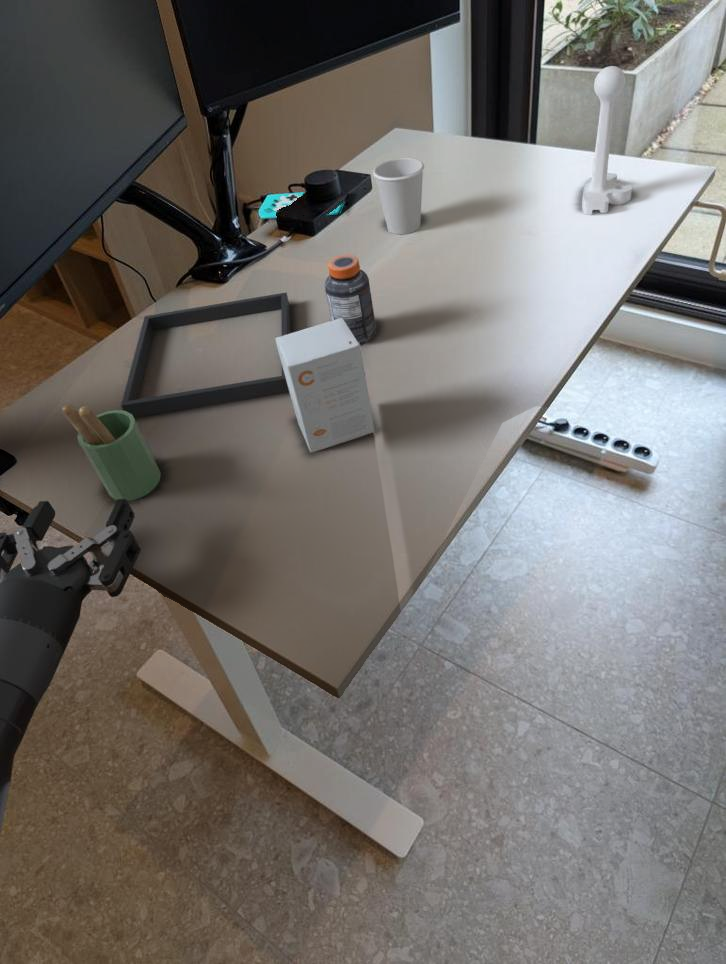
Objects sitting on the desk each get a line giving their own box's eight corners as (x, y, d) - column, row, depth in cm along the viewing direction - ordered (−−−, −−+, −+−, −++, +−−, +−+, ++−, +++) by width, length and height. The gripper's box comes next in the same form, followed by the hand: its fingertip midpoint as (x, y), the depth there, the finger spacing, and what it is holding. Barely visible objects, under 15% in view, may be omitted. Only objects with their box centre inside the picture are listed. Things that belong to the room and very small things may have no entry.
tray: (292, 396, 88) (287, 378, 86) (129, 423, 88) (120, 405, 86) (290, 309, 103) (286, 292, 101) (151, 333, 104) (144, 316, 102)
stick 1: (121, 489, 79) (59, 412, 68) (122, 480, 80) (60, 403, 68) (131, 487, 79) (70, 409, 68) (131, 478, 80) (72, 400, 68)
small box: (359, 406, 85) (343, 315, 75) (376, 436, 80) (361, 344, 71) (297, 426, 83) (273, 336, 74) (311, 458, 79) (287, 367, 70)
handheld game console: (269, 199, 133) (267, 192, 132) (348, 194, 130) (347, 187, 129) (255, 223, 127) (253, 216, 126) (339, 218, 123) (337, 211, 122)
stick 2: (138, 486, 79) (75, 414, 67) (138, 477, 80) (77, 405, 68) (147, 484, 79) (87, 412, 67) (148, 475, 80) (88, 402, 68)
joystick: (588, 185, 119) (601, 55, 105) (634, 186, 116) (653, 53, 102) (577, 214, 112) (589, 79, 98) (625, 216, 110) (645, 77, 95)
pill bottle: (357, 318, 99) (345, 245, 91) (385, 332, 95) (375, 257, 87) (326, 337, 96) (311, 264, 88) (354, 352, 93) (341, 277, 85)
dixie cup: (395, 243, 114) (389, 182, 107) (371, 226, 119) (363, 168, 112) (437, 226, 116) (434, 166, 109) (411, 211, 121) (406, 153, 114)
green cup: (106, 509, 78) (72, 452, 71) (115, 472, 82) (84, 415, 76) (159, 501, 77) (129, 442, 71) (165, 464, 82) (138, 406, 75)
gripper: (74, 621, 54) (138, 477, 66) (-83, 621, 57) (4, 481, 68) (111, 668, 60) (165, 527, 71) (-34, 666, 62) (40, 530, 73)
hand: (86, 505), depth 69 cm, fingers open, 8 cm apart
